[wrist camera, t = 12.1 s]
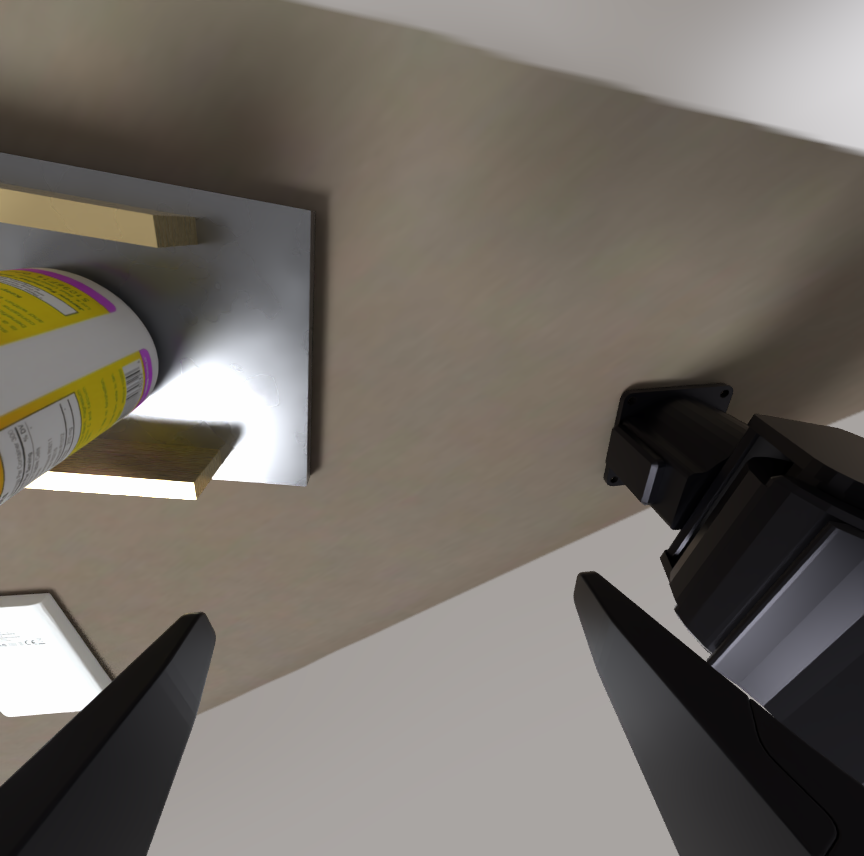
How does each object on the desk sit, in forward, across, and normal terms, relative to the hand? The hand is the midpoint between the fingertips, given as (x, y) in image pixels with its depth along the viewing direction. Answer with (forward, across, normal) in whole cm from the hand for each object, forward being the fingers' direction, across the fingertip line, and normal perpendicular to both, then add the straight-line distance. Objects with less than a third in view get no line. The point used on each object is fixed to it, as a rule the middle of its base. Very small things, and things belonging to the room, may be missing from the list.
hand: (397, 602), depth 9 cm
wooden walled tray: (+13, +14, -4) cm, 20 cm away
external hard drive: (+14, +29, +18) cm, 37 cm away
